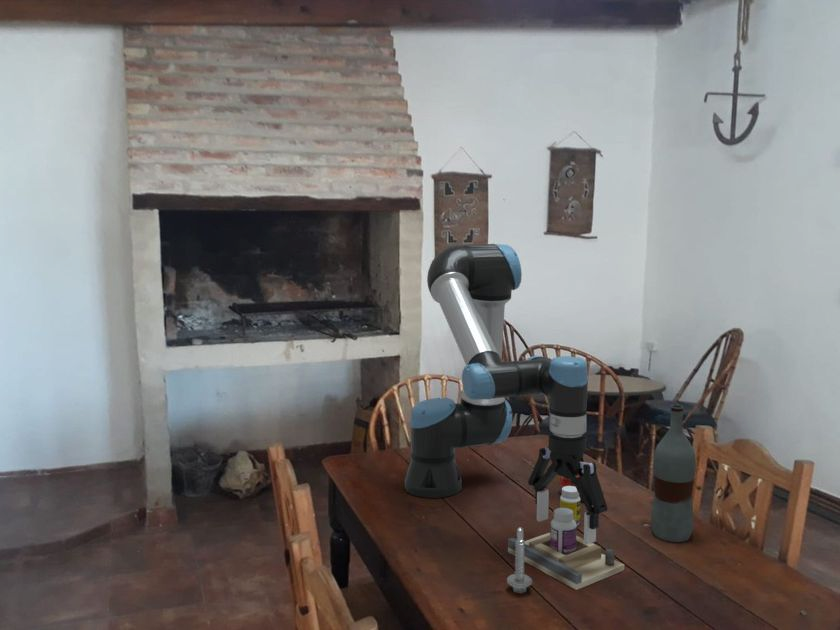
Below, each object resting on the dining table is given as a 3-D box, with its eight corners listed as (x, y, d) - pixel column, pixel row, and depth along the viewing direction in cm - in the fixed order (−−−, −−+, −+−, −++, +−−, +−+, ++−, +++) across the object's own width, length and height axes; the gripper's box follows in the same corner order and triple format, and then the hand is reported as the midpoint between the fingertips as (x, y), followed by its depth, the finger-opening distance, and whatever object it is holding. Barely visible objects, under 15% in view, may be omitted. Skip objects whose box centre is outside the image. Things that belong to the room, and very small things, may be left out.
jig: (507, 552, 164) (508, 534, 163) (554, 535, 172) (554, 519, 171) (576, 590, 148) (576, 570, 147) (624, 570, 156) (624, 551, 155)
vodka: (701, 541, 168) (707, 410, 164) (662, 545, 167) (667, 412, 162) (679, 524, 177) (685, 399, 173) (643, 527, 176) (647, 401, 172)
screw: (509, 597, 145) (504, 584, 150) (534, 595, 146) (528, 583, 150) (510, 532, 143) (505, 522, 148) (535, 531, 144) (529, 521, 148)
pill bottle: (577, 551, 161) (578, 507, 160) (574, 562, 156) (575, 517, 155) (552, 547, 163) (552, 505, 162) (548, 558, 158) (548, 514, 157)
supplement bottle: (580, 527, 176) (580, 493, 175) (559, 526, 177) (560, 491, 176) (579, 519, 181) (580, 485, 179) (559, 518, 182) (560, 484, 180)
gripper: (512, 421, 164) (511, 515, 167) (601, 452, 143) (598, 557, 146) (538, 416, 168) (536, 507, 171) (627, 444, 148) (624, 547, 151)
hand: (565, 530), depth 159 cm, fingers open, 13 cm apart
